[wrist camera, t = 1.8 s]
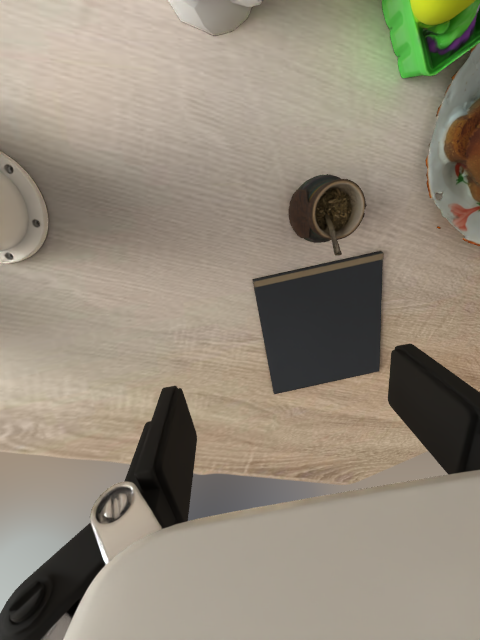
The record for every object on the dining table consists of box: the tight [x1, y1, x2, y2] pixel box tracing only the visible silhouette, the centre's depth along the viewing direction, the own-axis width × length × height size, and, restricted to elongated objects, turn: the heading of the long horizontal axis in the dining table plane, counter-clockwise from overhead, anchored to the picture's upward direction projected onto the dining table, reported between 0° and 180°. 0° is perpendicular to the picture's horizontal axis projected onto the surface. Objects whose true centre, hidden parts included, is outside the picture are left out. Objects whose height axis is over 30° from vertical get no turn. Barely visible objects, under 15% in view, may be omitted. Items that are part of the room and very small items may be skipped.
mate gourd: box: [289, 174, 367, 255], centre depth 28 cm, size 7×8×10 cm
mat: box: [253, 251, 383, 394], centre depth 39 cm, size 20×18×1 cm
